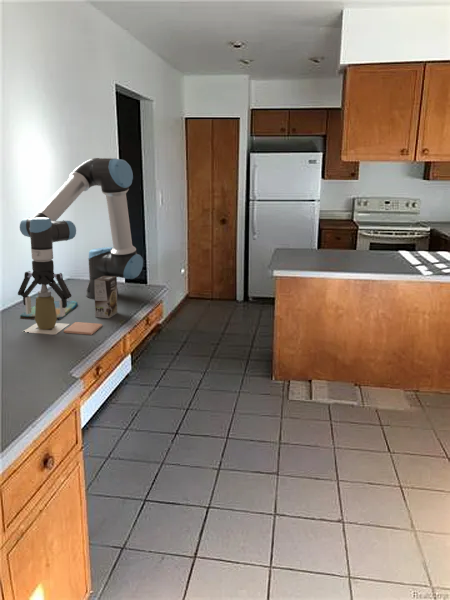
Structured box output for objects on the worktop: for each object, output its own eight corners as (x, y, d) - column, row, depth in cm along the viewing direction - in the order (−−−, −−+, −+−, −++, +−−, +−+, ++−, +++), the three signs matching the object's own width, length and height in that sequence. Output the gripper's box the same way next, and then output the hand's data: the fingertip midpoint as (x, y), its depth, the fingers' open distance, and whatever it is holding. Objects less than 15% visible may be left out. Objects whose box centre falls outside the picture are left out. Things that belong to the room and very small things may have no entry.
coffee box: (109, 318, 209) (108, 280, 204) (94, 317, 210) (93, 279, 206) (118, 312, 217) (117, 276, 213) (104, 311, 218) (103, 275, 214)
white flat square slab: (38, 321, 201) (38, 321, 201) (69, 324, 200) (69, 323, 200) (22, 332, 189) (22, 331, 189) (55, 334, 187) (55, 334, 187)
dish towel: (79, 306, 227) (78, 300, 226) (60, 321, 204) (60, 315, 204) (41, 304, 228) (41, 298, 227) (18, 319, 205) (18, 313, 204)
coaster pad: (75, 323, 200) (75, 321, 200) (102, 325, 199) (102, 323, 199) (63, 332, 190) (63, 330, 190) (91, 334, 189) (91, 332, 188)
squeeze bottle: (55, 330, 191) (53, 284, 186) (33, 331, 190) (30, 284, 185) (59, 324, 199) (56, 279, 194) (37, 324, 197) (34, 279, 193)
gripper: (5, 259, 185) (9, 314, 191) (70, 263, 182) (72, 319, 188) (16, 256, 192) (19, 309, 198) (78, 260, 190) (80, 314, 195)
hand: (45, 314), depth 193 cm, fingers open, 13 cm apart
